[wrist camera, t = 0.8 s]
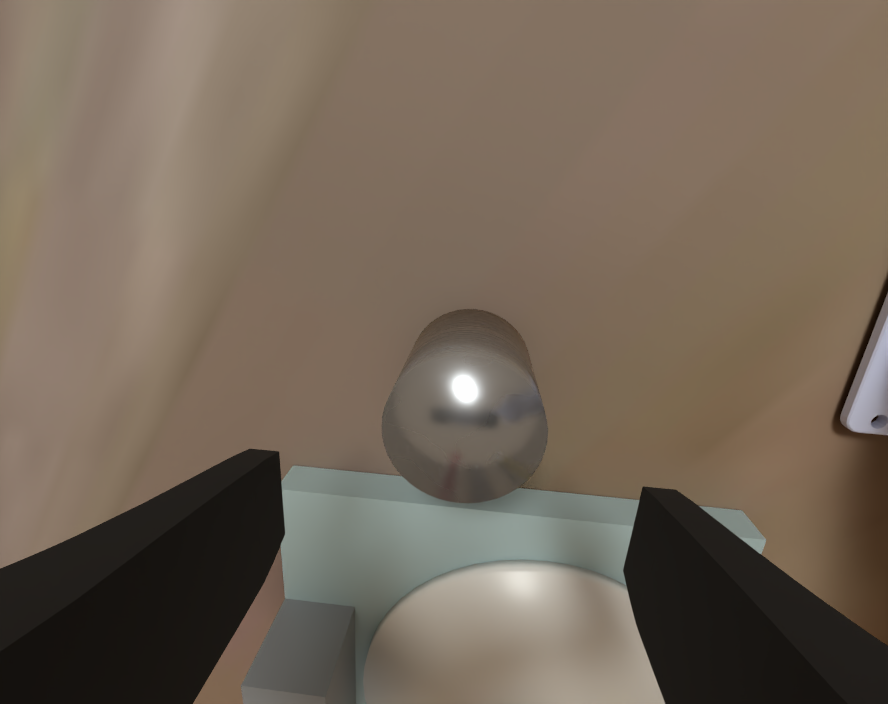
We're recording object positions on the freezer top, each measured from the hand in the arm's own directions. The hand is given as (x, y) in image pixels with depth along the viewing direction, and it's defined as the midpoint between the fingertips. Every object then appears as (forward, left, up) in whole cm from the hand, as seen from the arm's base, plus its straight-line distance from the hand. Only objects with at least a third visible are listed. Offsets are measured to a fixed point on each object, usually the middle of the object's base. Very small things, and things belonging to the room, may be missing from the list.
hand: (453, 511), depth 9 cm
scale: (-2, +14, -8) cm, 16 cm away
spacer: (0, 0, -8) cm, 8 cm away
